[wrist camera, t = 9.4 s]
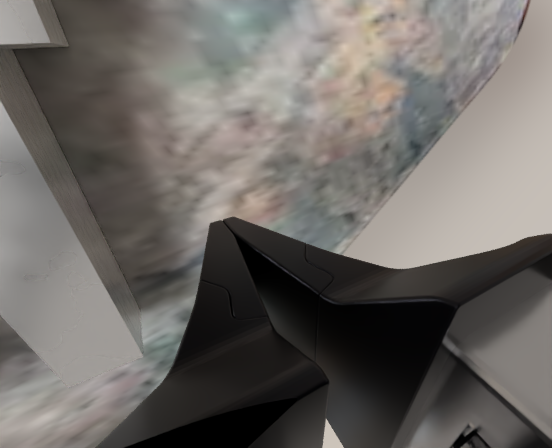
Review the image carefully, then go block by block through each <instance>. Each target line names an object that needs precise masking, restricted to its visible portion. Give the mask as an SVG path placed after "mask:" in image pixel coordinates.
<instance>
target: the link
mask: <svg viewBox="0 0 552 448" xmlns="http://www.w3.org/2000/svg"><path fill="white" fill-rule="evenodd" d="M47 47H69V45H68V42H67V40H66V37H65V35H64V32H63V30H62V27H61V24H60V22H59V19H58V17H57V14H56V12H55V9H54V7H53V4H52V2H51V0H0V315H1V317H2V318H3V319H4V320H5V321H6V322H7V323H8V324H9V325H10V326H11V327H12V328H13V329H14V330H15V332H16V333H17V334H18V335H19V336H20V337H21V338H22V339H23V340H24V341H25V342H26V343H27V344H28V345H29V347H30V348H31V349H32V350H33V351H34V352H35V353H36V354H37V355H38V356H39V357H40V358H41V359H42V360H43V362H44V363H45V364H46V365H47V366H48V367H49V368H50V369H51V370H52V371H53V372H54V373H55V374H56V375H57V377H58V378H59V379H60V380H61V381H62V382H63V383H64V384H65V385H66V386H67V387H68V388H70V387H72V386H74V385H77V384H79V383H82V382H84V381H86V380H89V379H91V378H93V377H96V376H98V375H101V374H103V373H105V372H108V371H110V370H113V369H115V368H117V367H120V366H122V365H124V364H127V363H129V362H132V361H134V360H136V359H139V358H141V357H144V355H143V341H142V328H141V314H140V309H139V307H138V305H137V303H136V300H135V298H134V296H133V294H132V292H131V290H130V288H129V286H128V284H127V282H126V280H125V278H124V276H123V274H122V272H121V270H120V268H119V266H118V264H117V262H116V260H115V258H114V256H113V254H112V252H111V250H110V248H109V246H108V243H107V241H106V239H105V237H104V235H103V233H102V231H101V229H100V227H99V225H98V223H97V221H96V219H95V217H94V215H93V213H92V211H91V209H90V207H89V205H88V203H87V201H86V199H85V197H84V195H83V193H82V191H81V189H80V186H79V184H78V182H77V180H76V178H75V176H74V174H73V172H72V170H71V168H70V166H69V164H68V162H67V160H66V158H65V156H64V154H63V152H62V150H61V148H60V146H59V144H58V142H57V140H56V138H55V136H54V134H53V132H52V129H51V127H50V125H49V123H48V121H47V119H46V117H45V115H44V113H43V111H42V109H41V107H40V105H39V103H38V101H37V99H36V97H35V95H34V93H33V91H32V89H31V87H30V85H29V83H28V81H27V79H26V77H25V75H24V72H23V70H22V68H21V66H20V64H19V62H18V60H17V58H16V56H15V54H14V52H13V50H12V49H24V48H47Z"/></svg>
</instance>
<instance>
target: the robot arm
mask: <svg viewBox="0 0 552 448" xmlns="http://www.w3.org/2000/svg"><path fill="white" fill-rule="evenodd" d="M326 419H327V420H328V422H329V424H330V425H331V427H332V429H333V430H334V432H335V433H336V435H337V437H338V438H339V440H340V442H341V443H342V445H343V447H344V448H552V234H544V235H537V236H532V237H527V238H524V239H522V240H520V241H518V242H516V243H514V244H511V245H509V246H506V247H502V248H499V249H495V250H491V251H487V252H483V253H480V254H474V255H470V256H466V257H461V258H456V259H451V260H447V261H442V262H438V263H433V264H429V265H424V266H420V267H415V268H409V269H393V268H386V267H383V266H379V265H375V264H372V263H368V262H364V261H361V260H357V259H353V258H350V257H346V256H343V255H339V254H336V253H333V252H329V251H326V250H323V249H321V248H318V247H315V246H312V245H309V244H306V243H304V242H301V241H298V240H296V239H293V238H290V237H288V236H285V235H282V234H279V233H277V232H274V231H271V230H269V229H266V228H263V227H260V226H258V225H255V224H252V223H250V222H247V221H244V220H242V219H239V218H236V217H230V218H227V219H224V220H223V221H221V220H219V221H216V222H212V223H210V226H209V231H208V237H207V242H206V248H205V253H204V259H203V265H202V270H201V276H200V282H199V286H198V291H197V295H196V300H195V304H194V307H193V310H192V313H191V316H190V319H189V322H188V324H187V327H186V330H185V333H184V335H183V338H182V341H181V343H180V346H179V349H178V351H177V354H176V357H175V359H174V362H173V364H172V367H171V369H170V371H169V373H168V374H167V376H166V378H165V379H164V380H163V382H162V383H161V384H160V385H159V386H158V387H157V388H156V389H155V390H154V391H153V392H152V393H151V394H150V395H149V396H148V397H147V398H146V399H145V400H144V401H143V402H142V403H141V404H140V405H139V406H138V407H137V408H136V409H135V410H134V411H133V412H132V413H131V414H130V415H129V416H128V417H127V418H126V419H125V420H124V421H123V422H122V423H121V424H120V425H119V426H118V427H116V428H115V429H114V430H113V431H112V432H111V433H110V434H109V435H108V436H107V437H106V438H105V439H104V440H103V441H102V442H101V443H100V444H99V445H98V446H97V447H95V448H322V445H323V437H324V428H325V420H326Z"/></svg>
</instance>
